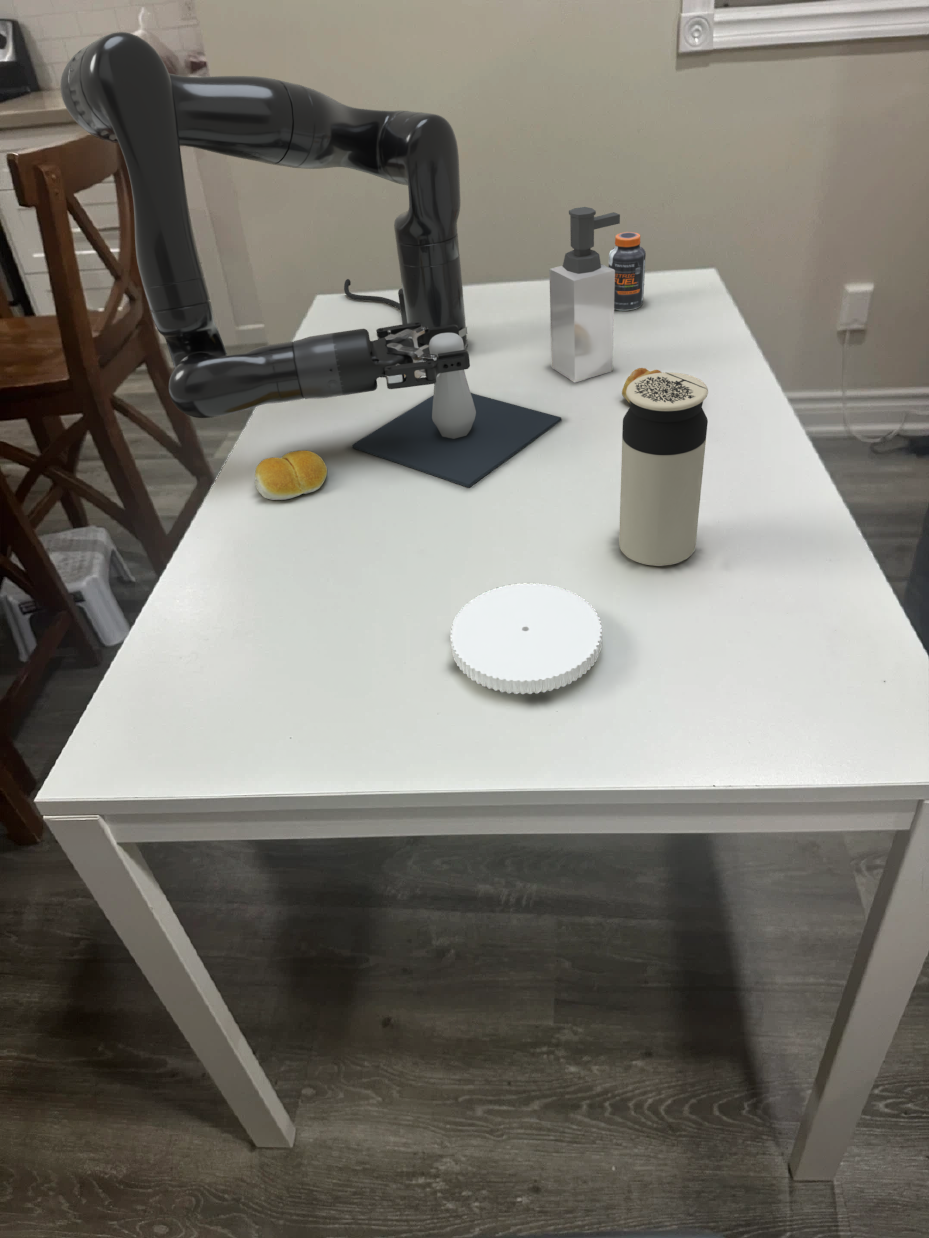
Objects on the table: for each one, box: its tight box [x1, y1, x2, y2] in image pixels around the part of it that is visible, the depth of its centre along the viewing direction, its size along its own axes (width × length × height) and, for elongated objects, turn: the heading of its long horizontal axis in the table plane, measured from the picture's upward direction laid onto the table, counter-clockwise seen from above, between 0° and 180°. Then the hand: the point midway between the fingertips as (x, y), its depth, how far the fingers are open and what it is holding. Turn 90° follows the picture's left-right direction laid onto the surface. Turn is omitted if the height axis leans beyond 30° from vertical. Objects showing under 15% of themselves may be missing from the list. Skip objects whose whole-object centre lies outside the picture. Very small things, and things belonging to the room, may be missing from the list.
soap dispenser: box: [548, 206, 621, 384], centre depth 121 cm, size 6×9×22 cm
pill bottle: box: [608, 231, 647, 312], centre depth 142 cm, size 6×6×11 cm
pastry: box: [621, 367, 663, 404], centre depth 116 cm, size 9×7×4 cm
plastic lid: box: [449, 582, 603, 695], centre depth 81 cm, size 14×14×2 cm
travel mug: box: [618, 371, 709, 567], centre depth 86 cm, size 8×8×18 cm
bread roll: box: [254, 450, 328, 501], centre depth 108 cm, size 8×9×4 cm
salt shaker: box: [429, 333, 476, 439], centre depth 111 cm, size 6×6×13 cm
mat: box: [351, 392, 562, 489], centre depth 116 cm, size 20×20×1 cm
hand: (463, 345), depth 108 cm, fingers open, 8 cm apart
